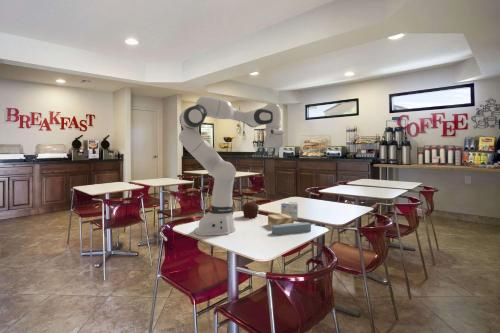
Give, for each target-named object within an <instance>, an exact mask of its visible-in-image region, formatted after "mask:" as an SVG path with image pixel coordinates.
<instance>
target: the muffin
mask: <svg viewBox="0 0 500 333" xmlns="http://www.w3.org/2000/svg"><path fill="white" fill-rule="evenodd" d="M241 208H242V213H243V217H244V218H245V219H256V218H255V217H257V218H258V213H259V212H258V211H259V208H260V206H258V204H257V203H256V202H254V201H248V202H245V203H244V204H243V205H242V207H241Z"/></svg>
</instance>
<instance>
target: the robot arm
mask: <svg viewBox="0 0 500 333" xmlns="http://www.w3.org/2000/svg"><path fill="white" fill-rule="evenodd" d="M281 116H282V115H281V107H280V105H279V104H276V103H266V105H265V106H261V107H260V108H257V109H255V110H249V111H244V110H241V109H240V110H239V109H236V108H234V107H233V104H232V103H231V102H230V101H228V100H226V99H224V98H219V97H214V96H208V95H207V96H205V95H204V96H203V95H202V96H200V97H198V99H197V100H196V103H195V105H191V106H190V107H188V108H186V109H184V110H183V111H182V112H181V114H180V115H179V124H180V127H181V131H180V133H179V135H178V140H179V142H180V144H181V145H182V146H183V147H184V148H185V150H186V151H187V152H188V153H189V154H190V155H191V156H192V157H193V158H194V159H195V160H196V161H197V162H198V163H199V164H200V165H201V166H202V167H203V168H204V170H206V172H207V173H208V174H209V175H210V176H212V178H214V181H213V186H212V187H213V188H212V191H211V192H212V194H211V195H212V205H209V204H208V205H207V206H206V209H207V210H208V212H207V213H206V214H205V215H203V217H201V218H200V219H199V222H198V227H195V228H194V234H196V235H198V236H200V237H202V236H203V237H204V236H223V235H224V236H225V235H230V234H231V233H234V232H235V231H236V228H235V224H234V222H235V221H234V216H233V215H234V205H233V189H234V183H235V178H236V174H237V170H236V167H235V166H234V164H232V163H231V162H230V161H225V159H223V158H222V157H221V156H220V154H219V153H218V152H217V150H216V149H215V148H214V147H213V146H212V144H210V143H209V142H208V141H207V139H206V138H205V137H204V136H203V135H202V134H201V133H200V132H199V127H200V126H201V125H203V123H204V121H205V119H206V118H212V119H217V120H232V121H236V122H237V121H238V122H241V123H244V124H246V125H247V126H249V127H250V128H257V127H260V126H261V127H262V126H265V136H264V144H263V146H264V148H266V150H267V155H269V156H271V155H273V153H272V148H274V149H275V152H274V155H275V156H278V155H279V152H280V148H283V146H284V141H285V140H284V139H285V138H284V134H285V130H284V129H282V128H281V127H282V126H281V120H282V119H281Z"/></svg>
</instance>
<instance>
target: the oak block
mask: <svg viewBox="0 0 500 333" xmlns="http://www.w3.org/2000/svg"><path fill="white" fill-rule="evenodd" d="M292 223H295V220H294V217H292V216H290V215H288V214H281V213H277V214H268V215H267V225H268V226H270V227H271V228H272V226H274V225H281V224H292Z"/></svg>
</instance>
